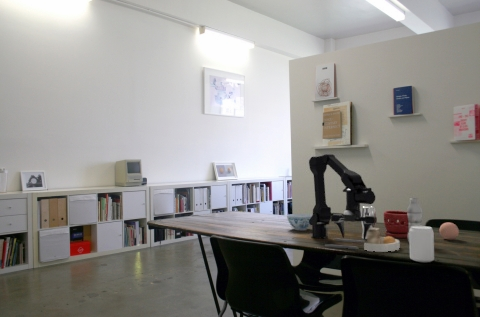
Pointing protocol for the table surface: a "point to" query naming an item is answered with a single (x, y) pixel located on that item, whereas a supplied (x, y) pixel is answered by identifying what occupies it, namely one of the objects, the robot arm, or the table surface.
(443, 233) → the toy ball
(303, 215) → the chinaware
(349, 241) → the launcher rails
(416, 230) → the beverage can
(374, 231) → the launcher plunger
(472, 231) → the table surface
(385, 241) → the rubber ball
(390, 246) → the ring
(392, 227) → the plant pot
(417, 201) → the plastic bottle
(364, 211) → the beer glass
